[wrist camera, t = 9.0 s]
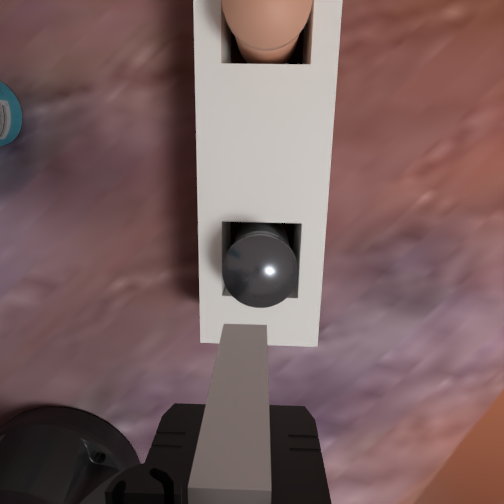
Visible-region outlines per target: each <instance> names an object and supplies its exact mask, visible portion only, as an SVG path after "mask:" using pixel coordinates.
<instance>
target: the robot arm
mask: <svg viewBox="0 0 504 504" xmlns="http://www.w3.org/2000/svg"><path fill="white" fill-rule="evenodd" d="M0 504H331V499H330V494H329V489H328V484H327V479H326V473H325V468H324V463H323V458H322V453H321V448H320V443H319V439H318V433H317V427H316V422H315V419H314V418H313V417H312V415H311V414H310V413H309V411H308V410H307V409H306V407H305V406H279V405H269V381H268V344H267V325H254V324H224V325H223V329H222V334H221V338H220V343H219V347H218V352H217V356H216V361H215V366H214V370H213V375H212V379H211V384H210V388H209V393H208V397H207V402H206V404H177V403H175V404H174V405H173V406H172V407H171V408H170V409H169V410H168V411H167V412H166V413H165V414H164V415H163V416H162V418H161V421H160V423H159V426H158V429H157V431H156V435H155V437H154V439H153V442H152V446H151V448H150V450H149V453H148V455H147V458H146V461H145V463H143V464H140V461H139V459H138V457H137V455H136V453H135V451H134V449H133V448H132V446H131V445H130V444H129V442H128V441H127V440H126V439H125V438H124V437H123V436H122V435H121V434H120V433H119V432H118V431H117V430H116V429H114V428H113V427H112V426H110V425H109V424H107V423H106V422H104V421H103V420H101V419H99V418H97V417H95V416H93V415H90V414H88V413H85V412H82V411H78V410H74V409H69V408H61V407H45V408H38V409H33V410H30V411H27V412H24V413H22V414H19V415H17V416H16V417H14V418H12V419H11V420H9V421H8V422H7V423H6V424H5V425H4V426H3V427H2V428H1V429H0Z"/></svg>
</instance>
